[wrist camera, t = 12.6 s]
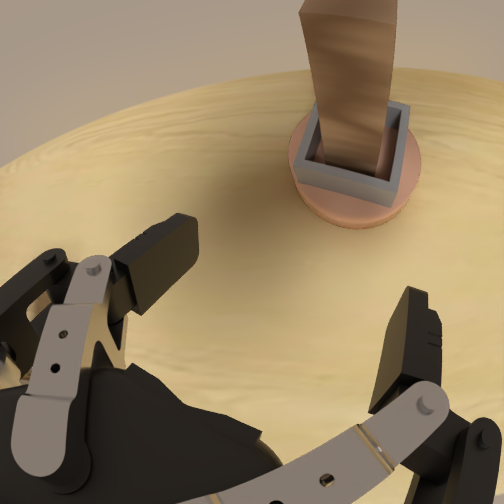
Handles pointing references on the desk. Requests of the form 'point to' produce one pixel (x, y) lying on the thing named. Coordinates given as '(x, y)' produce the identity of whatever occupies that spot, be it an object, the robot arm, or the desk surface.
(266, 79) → the desk surface
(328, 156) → the brown wooden block
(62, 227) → the desk surface
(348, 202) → the dish
